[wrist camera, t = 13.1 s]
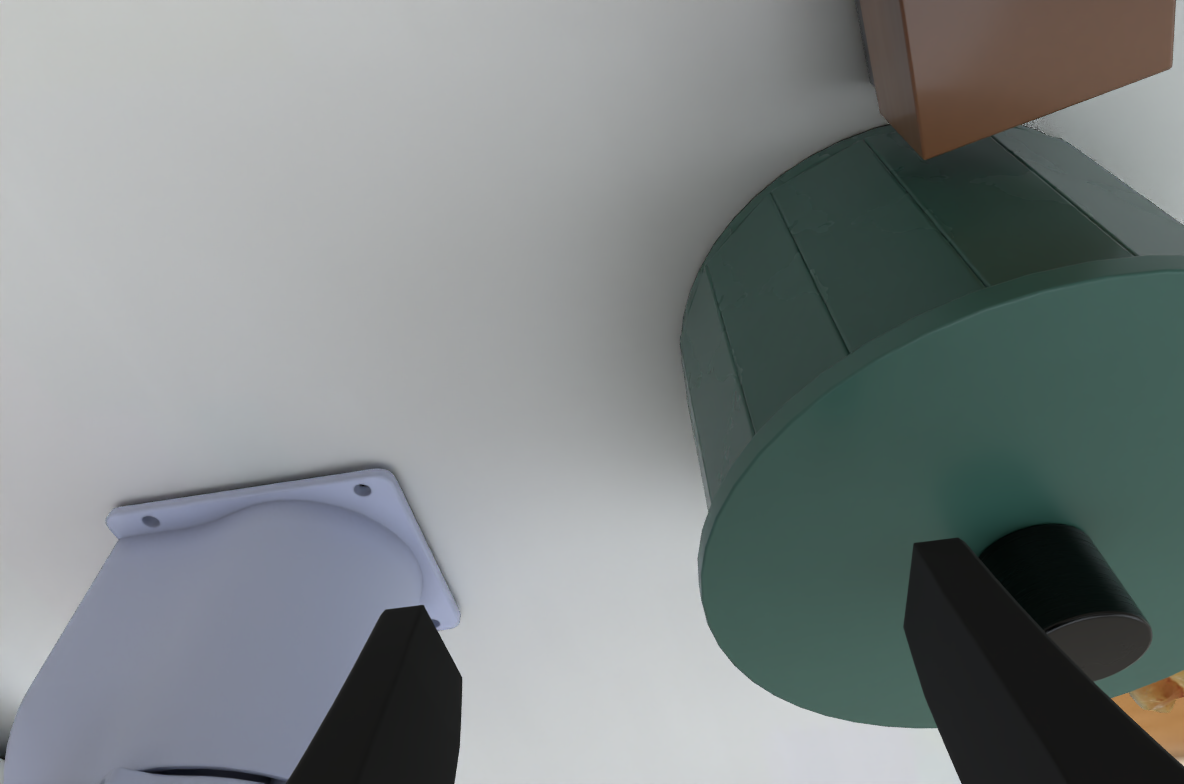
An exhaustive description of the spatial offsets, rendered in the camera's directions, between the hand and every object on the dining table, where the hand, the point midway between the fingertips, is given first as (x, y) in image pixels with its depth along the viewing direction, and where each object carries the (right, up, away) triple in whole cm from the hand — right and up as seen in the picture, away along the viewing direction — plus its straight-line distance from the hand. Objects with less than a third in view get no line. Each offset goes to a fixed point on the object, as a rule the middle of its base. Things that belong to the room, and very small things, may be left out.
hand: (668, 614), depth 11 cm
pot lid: (+7, 0, +4) cm, 8 cm away
